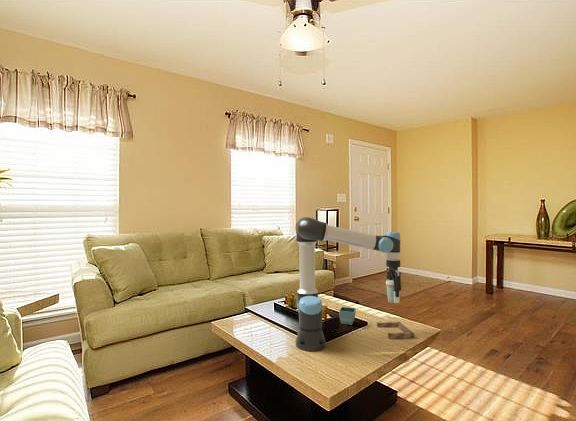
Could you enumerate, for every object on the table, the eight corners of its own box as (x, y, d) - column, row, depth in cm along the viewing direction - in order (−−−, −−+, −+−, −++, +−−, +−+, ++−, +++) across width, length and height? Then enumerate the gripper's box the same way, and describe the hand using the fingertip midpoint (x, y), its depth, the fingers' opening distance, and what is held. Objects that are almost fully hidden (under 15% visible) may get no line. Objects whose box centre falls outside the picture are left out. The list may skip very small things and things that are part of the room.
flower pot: (356, 322, 193) (356, 308, 193) (354, 327, 185) (354, 312, 185) (341, 321, 196) (341, 306, 196) (338, 326, 188) (338, 310, 188)
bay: (388, 338, 169) (388, 333, 169) (376, 326, 187) (376, 322, 187) (413, 338, 170) (413, 333, 170) (399, 326, 188) (399, 321, 188)
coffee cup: (399, 299, 182) (399, 278, 182) (403, 304, 174) (403, 282, 174) (384, 299, 183) (384, 278, 183) (387, 303, 174) (387, 281, 175)
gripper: (408, 262, 169) (408, 305, 168) (392, 257, 189) (392, 295, 189) (394, 262, 168) (394, 306, 168) (380, 257, 188) (380, 296, 188)
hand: (393, 300), depth 178 cm, fingers closed on coffee cup, 7 cm apart
